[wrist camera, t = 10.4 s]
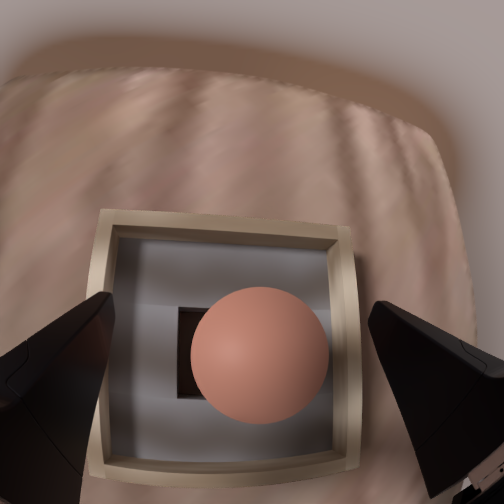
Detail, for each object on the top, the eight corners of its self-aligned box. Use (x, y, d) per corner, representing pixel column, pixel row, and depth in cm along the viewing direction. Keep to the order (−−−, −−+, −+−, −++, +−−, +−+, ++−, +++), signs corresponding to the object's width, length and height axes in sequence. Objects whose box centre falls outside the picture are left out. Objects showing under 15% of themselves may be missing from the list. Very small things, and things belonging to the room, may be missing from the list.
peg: (182, 365, 18) (164, 383, 7) (210, 316, 19) (234, 262, 8) (233, 392, 18) (292, 443, 7) (259, 343, 19) (347, 325, 8)
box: (114, 234, 20) (100, 208, 16) (325, 247, 23) (349, 226, 19) (106, 455, 14) (89, 475, 11) (332, 452, 17) (359, 467, 14)
